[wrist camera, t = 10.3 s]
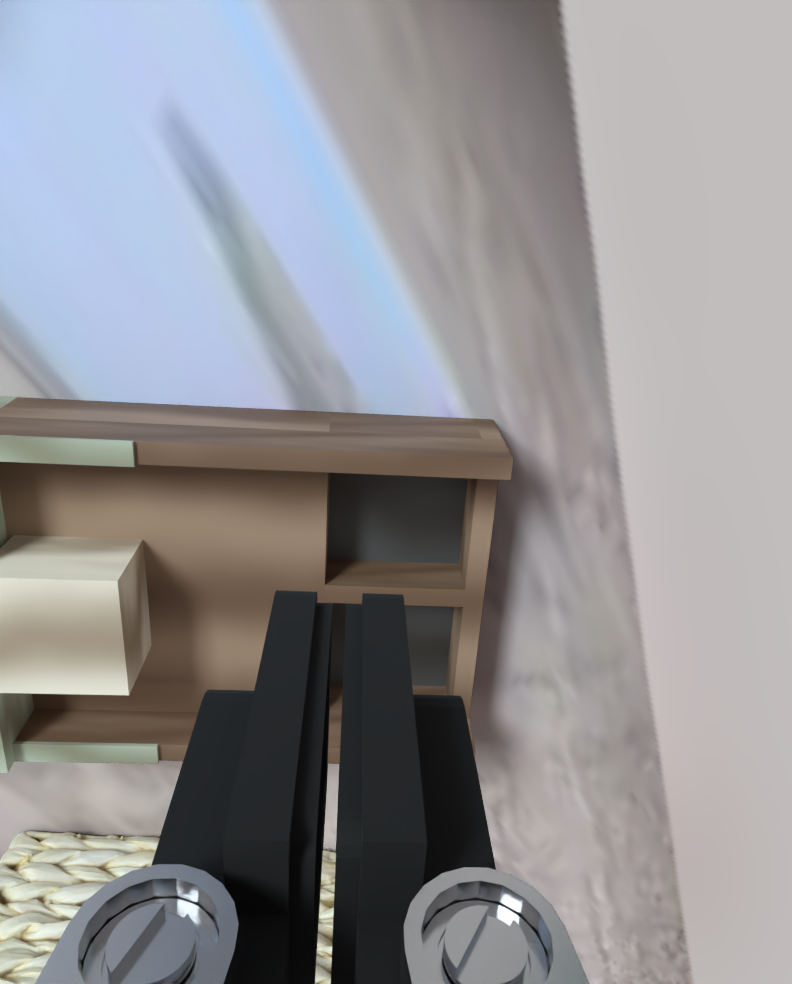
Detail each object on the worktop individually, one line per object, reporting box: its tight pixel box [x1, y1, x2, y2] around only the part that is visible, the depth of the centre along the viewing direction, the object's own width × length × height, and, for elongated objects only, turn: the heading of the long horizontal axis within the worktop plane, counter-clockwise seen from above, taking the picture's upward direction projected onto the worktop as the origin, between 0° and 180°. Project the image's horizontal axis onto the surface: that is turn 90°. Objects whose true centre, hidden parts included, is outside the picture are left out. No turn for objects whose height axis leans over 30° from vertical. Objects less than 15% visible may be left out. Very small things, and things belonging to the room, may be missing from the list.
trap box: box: [0, 397, 513, 773], centre depth 37 cm, size 17×24×6 cm
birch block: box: [0, 535, 152, 695], centre depth 35 cm, size 6×6×4 cm
